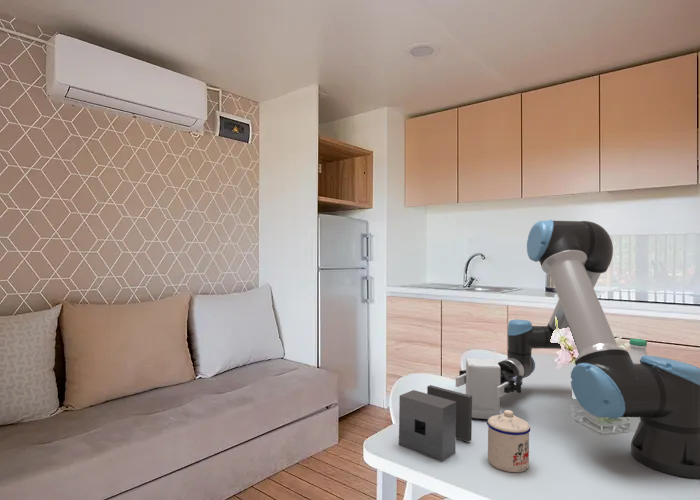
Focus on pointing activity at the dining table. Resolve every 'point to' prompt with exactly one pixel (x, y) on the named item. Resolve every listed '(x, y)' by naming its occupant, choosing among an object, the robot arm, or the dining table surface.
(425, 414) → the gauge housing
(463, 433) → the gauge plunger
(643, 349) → the milk bottle
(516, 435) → the teacup with lid
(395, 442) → the dining table surface
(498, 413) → the supplement box
